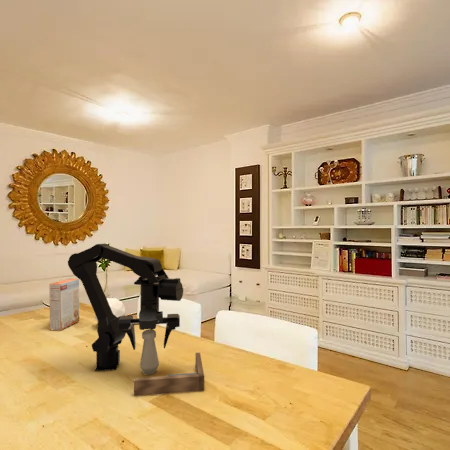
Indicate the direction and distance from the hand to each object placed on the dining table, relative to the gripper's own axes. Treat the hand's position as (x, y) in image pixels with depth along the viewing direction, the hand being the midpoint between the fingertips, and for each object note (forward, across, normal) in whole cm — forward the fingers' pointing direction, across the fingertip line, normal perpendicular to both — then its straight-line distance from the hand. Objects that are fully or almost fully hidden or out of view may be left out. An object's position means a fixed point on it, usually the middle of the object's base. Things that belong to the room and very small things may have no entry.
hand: (149, 348), depth 100 cm
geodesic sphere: (+8, -22, +50) cm, 55 cm away
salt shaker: (+7, 0, 0) cm, 7 cm away
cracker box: (+8, -43, +54) cm, 69 cm away
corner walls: (+7, +7, -5) cm, 11 cm away
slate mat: (+7, +10, -8) cm, 15 cm away
